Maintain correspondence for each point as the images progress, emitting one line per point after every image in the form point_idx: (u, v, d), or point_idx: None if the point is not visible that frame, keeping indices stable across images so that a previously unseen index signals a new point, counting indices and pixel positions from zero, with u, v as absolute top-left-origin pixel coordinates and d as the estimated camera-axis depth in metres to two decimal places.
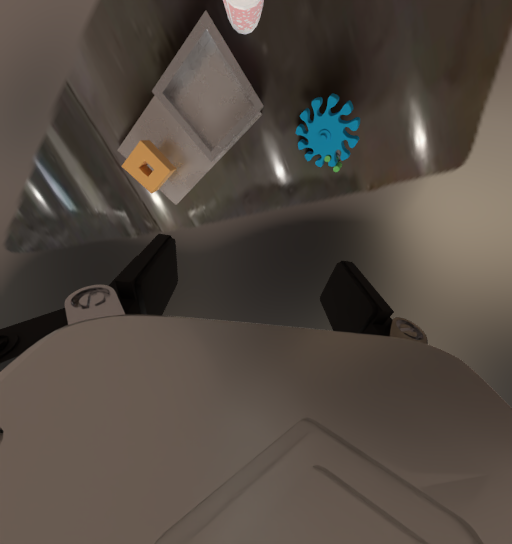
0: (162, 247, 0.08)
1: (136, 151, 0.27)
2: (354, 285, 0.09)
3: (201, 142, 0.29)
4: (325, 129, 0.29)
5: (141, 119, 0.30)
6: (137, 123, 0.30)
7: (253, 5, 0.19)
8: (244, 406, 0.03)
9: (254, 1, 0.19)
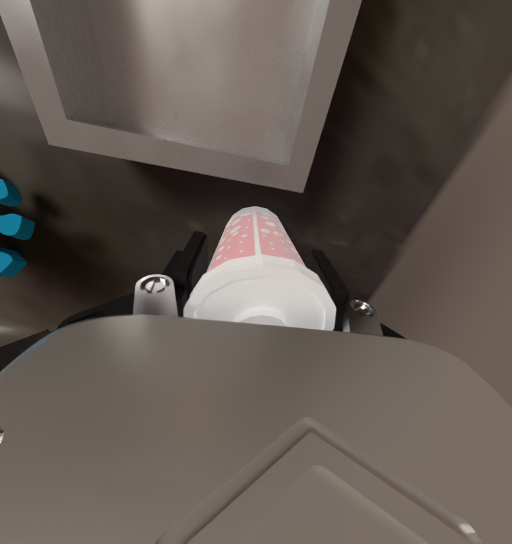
0: (200, 243, 0.09)
1: None
2: (319, 270, 0.10)
3: None
4: None
5: None
6: None
7: (191, 294, 0.07)
8: (244, 406, 0.03)
9: (187, 307, 0.07)
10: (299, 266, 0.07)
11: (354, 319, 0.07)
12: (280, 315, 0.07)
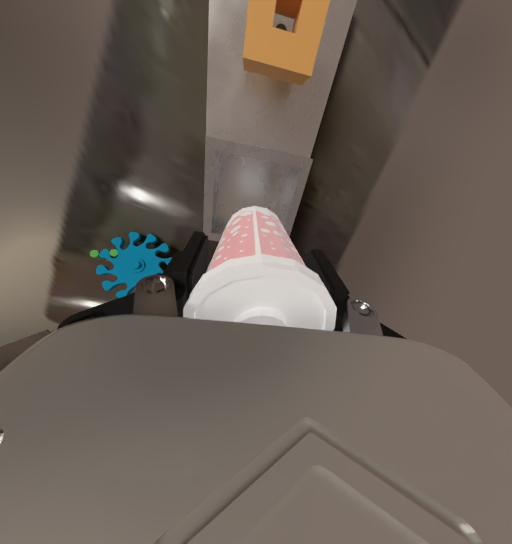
0: (200, 243, 0.09)
1: (314, 41, 0.13)
2: (319, 270, 0.10)
3: (233, 151, 0.19)
4: (141, 271, 0.27)
5: (322, 105, 0.19)
6: (327, 93, 0.19)
7: (191, 294, 0.07)
8: (244, 406, 0.03)
9: (187, 307, 0.07)
10: (299, 266, 0.07)
11: (354, 319, 0.07)
12: (280, 315, 0.07)
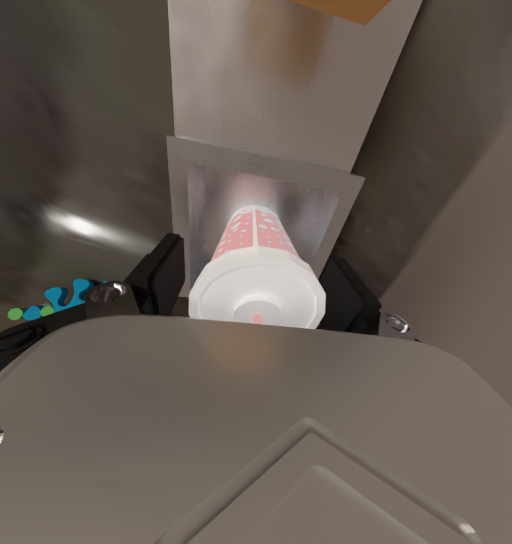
0: (172, 245, 0.09)
1: None
2: (345, 281, 0.09)
3: (221, 164, 0.10)
4: None
5: (383, 79, 0.11)
6: (395, 55, 0.10)
7: (196, 282, 0.08)
8: (244, 406, 0.03)
9: (192, 292, 0.08)
10: (292, 256, 0.07)
11: (385, 331, 0.07)
12: (275, 301, 0.08)
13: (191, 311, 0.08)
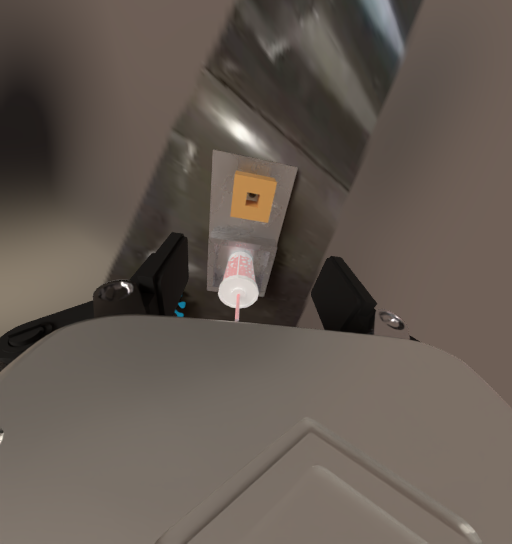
0: (176, 245, 0.09)
1: (267, 210, 0.24)
2: (341, 279, 0.09)
3: (226, 244, 0.30)
4: None
5: (283, 213, 0.31)
6: (285, 208, 0.30)
7: (220, 284, 0.28)
8: (244, 406, 0.03)
9: (219, 287, 0.28)
10: (247, 277, 0.27)
11: (380, 329, 0.07)
12: (243, 290, 0.28)
13: (219, 293, 0.28)
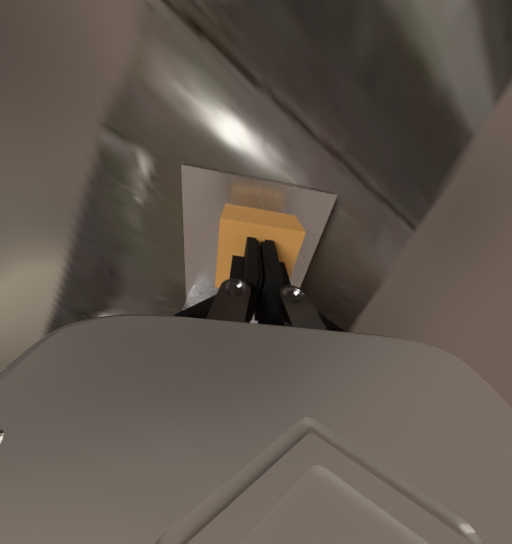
0: (256, 248, 0.10)
1: None
2: (263, 259, 0.09)
3: None
4: None
5: (305, 265, 0.19)
6: (309, 257, 0.18)
7: None
8: (244, 406, 0.03)
9: None
10: None
11: (292, 311, 0.07)
12: None
13: None
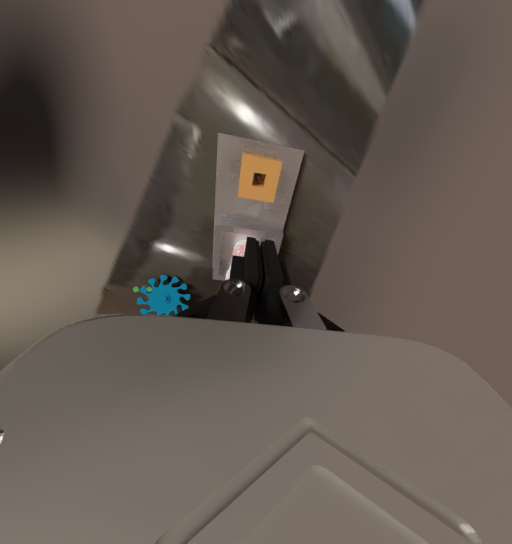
0: (256, 248, 0.10)
1: (273, 190, 0.25)
2: (263, 259, 0.09)
3: (232, 231, 0.30)
4: (167, 303, 0.38)
5: (289, 199, 0.30)
6: (291, 193, 0.30)
7: (227, 271, 0.28)
8: (244, 406, 0.03)
9: (227, 274, 0.28)
10: None
11: (292, 311, 0.07)
12: None
13: (226, 279, 0.28)
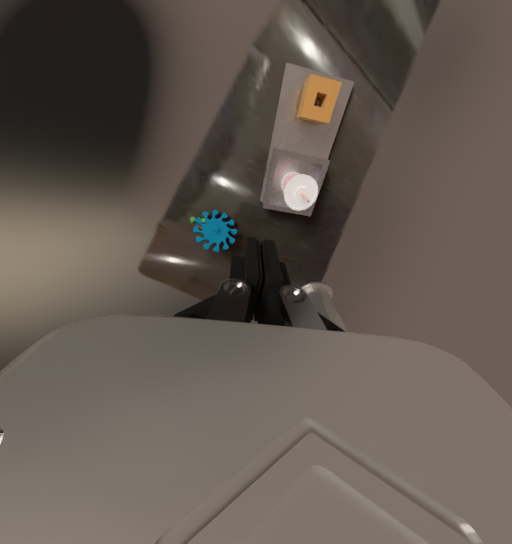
0: (256, 248, 0.10)
1: (330, 110, 0.31)
2: (263, 259, 0.09)
3: (287, 156, 0.35)
4: (218, 234, 0.44)
5: (335, 130, 0.36)
6: (338, 124, 0.35)
7: (286, 184, 0.33)
8: (244, 406, 0.03)
9: (287, 185, 0.33)
10: None
11: (292, 311, 0.07)
12: (306, 188, 0.33)
13: (285, 192, 0.33)
